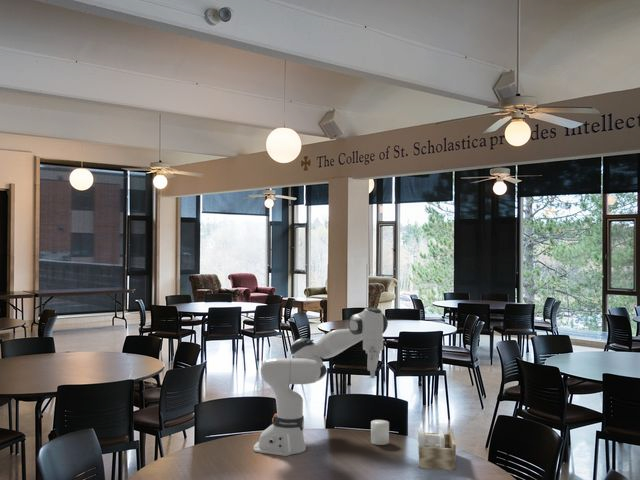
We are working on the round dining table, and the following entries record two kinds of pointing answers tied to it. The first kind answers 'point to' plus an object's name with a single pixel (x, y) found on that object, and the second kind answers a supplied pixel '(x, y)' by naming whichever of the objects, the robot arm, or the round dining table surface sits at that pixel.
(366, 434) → the round dining table surface
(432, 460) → the bracket
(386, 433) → the mug
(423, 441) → the cable organizer
